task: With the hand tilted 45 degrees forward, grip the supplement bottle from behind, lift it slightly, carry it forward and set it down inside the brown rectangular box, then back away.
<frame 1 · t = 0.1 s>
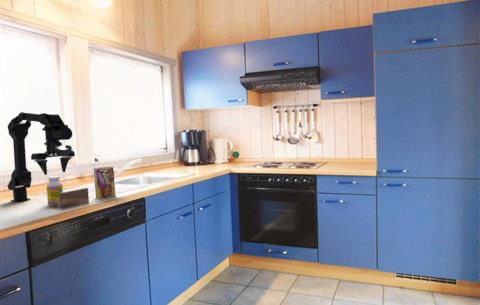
hand: (55, 173, 172), 15 cm above the counter, tool pointing down, fingers open, 9 cm apart
brown rectangular box: (68, 205, 169), on the counter
supplement bottle: (56, 204, 173), on the counter
candy box: (105, 197, 186), on the counter
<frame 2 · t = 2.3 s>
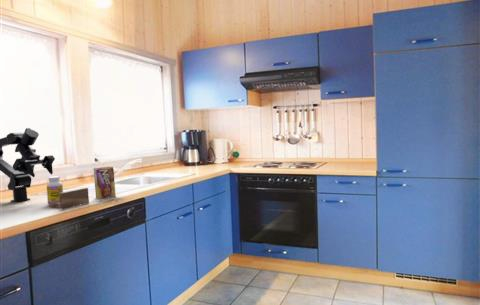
hand: (43, 175, 176), 14 cm above the counter, tool tilted 45°, fingers open, 9 cm apart
nothing on the counter moved.
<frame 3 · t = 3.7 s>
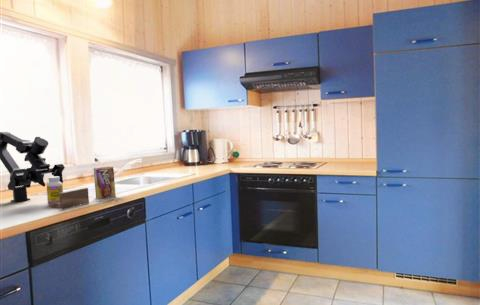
hand: (53, 184, 173), 9 cm above the counter, tool tilted 45°, fingers open, 9 cm apart
nothing on the counter moved.
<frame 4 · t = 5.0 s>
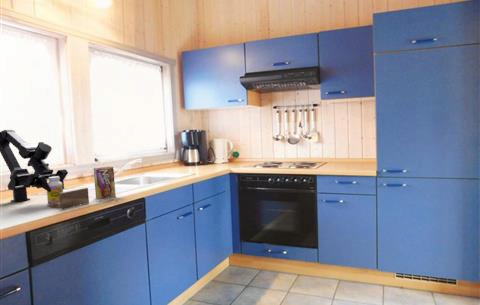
hand: (56, 190, 172), 7 cm above the counter, tool tilted 45°, fingers closed on supplement bottle, 7 cm apart
supplement bottle: (56, 204, 173), on the counter, touching gripper
everything else where it was.
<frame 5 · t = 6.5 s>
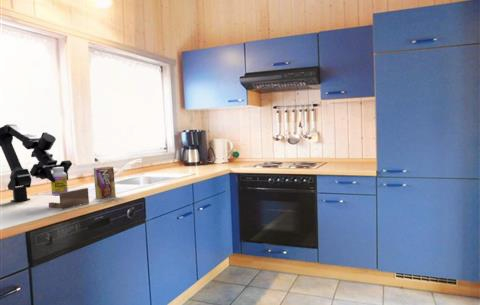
hand: (61, 180, 170), 11 cm above the counter, tool tilted 45°, fingers closed on supplement bottle, 7 cm apart
supplement bottle: (60, 195, 171), point 4 cm above the counter, touching gripper
everything else where it was.
when the fingers open (8 cm above the counter, at t = 8.0 s): supplement bottle drops 1 cm, on the counter.
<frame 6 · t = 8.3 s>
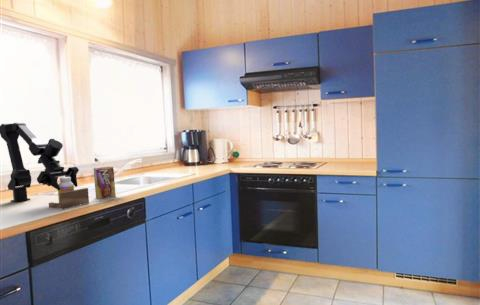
hand: (68, 187, 168), 8 cm above the counter, tool tilted 45°, fingers open, 9 cm apart
supplement bottle: (67, 205, 170), on the counter
everything else where it was.
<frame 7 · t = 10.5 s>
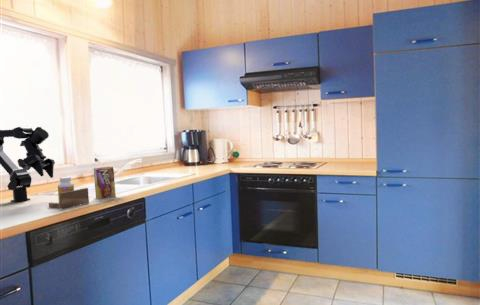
hand: (47, 176, 177), 12 cm above the counter, tool tilted 30°, fingers open, 9 cm apart
nothing on the counter moved.
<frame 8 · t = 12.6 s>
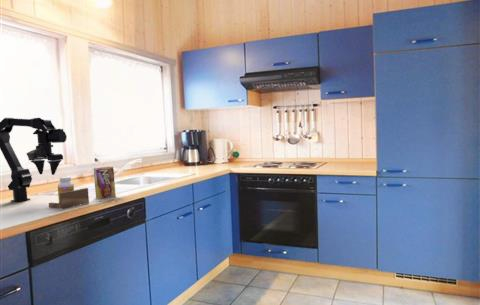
hand: (47, 174, 182), 13 cm above the counter, tool pointing down, fingers open, 9 cm apart
nothing on the counter moved.
at the end: supplement bottle inside the target area (0.5 cm from its centre), on the counter; supplement bottle tilted 0° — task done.
